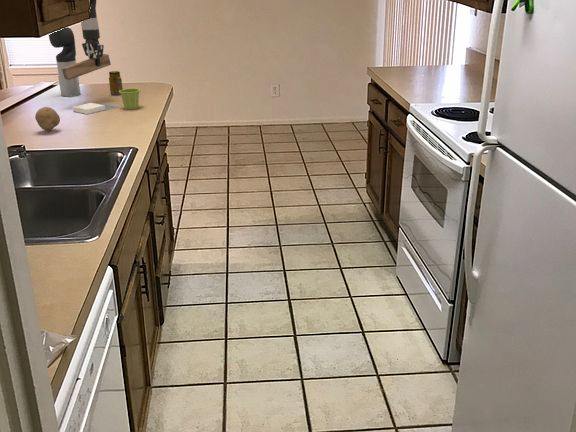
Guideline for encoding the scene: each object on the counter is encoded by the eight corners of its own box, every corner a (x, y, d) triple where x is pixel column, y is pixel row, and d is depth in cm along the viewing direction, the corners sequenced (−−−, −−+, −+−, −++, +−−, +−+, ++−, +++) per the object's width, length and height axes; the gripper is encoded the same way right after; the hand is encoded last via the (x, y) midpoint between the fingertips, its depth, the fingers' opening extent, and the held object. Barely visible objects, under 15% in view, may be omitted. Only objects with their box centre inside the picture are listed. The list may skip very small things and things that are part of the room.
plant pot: (116, 110, 282) (114, 91, 279) (130, 106, 290) (128, 87, 287) (132, 112, 278) (130, 93, 275) (146, 107, 286) (144, 89, 283)
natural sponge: (54, 127, 255) (50, 103, 252) (66, 130, 250) (62, 106, 246) (34, 132, 249) (29, 107, 245) (45, 135, 244) (41, 110, 240)
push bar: (64, 79, 281) (61, 68, 279) (106, 64, 297) (103, 53, 295) (69, 79, 279) (66, 69, 277) (110, 64, 295) (108, 54, 293)
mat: (74, 110, 283) (74, 109, 282) (101, 104, 294) (101, 103, 293) (93, 114, 275) (92, 113, 274) (120, 108, 286) (119, 107, 285)
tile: (91, 107, 286) (73, 111, 279) (91, 102, 285) (72, 106, 278) (105, 110, 280) (86, 114, 273) (104, 105, 280) (86, 109, 272)
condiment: (120, 93, 317) (117, 70, 312) (128, 96, 311) (125, 72, 306) (107, 95, 313) (104, 71, 308) (114, 98, 307) (111, 74, 302)
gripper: (74, 28, 285) (79, 65, 292) (92, 29, 277) (98, 68, 284) (87, 26, 291) (92, 63, 297) (106, 28, 283) (111, 66, 290)
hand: (95, 65), depth 291 cm, fingers closed on push bar, 3 cm apart
